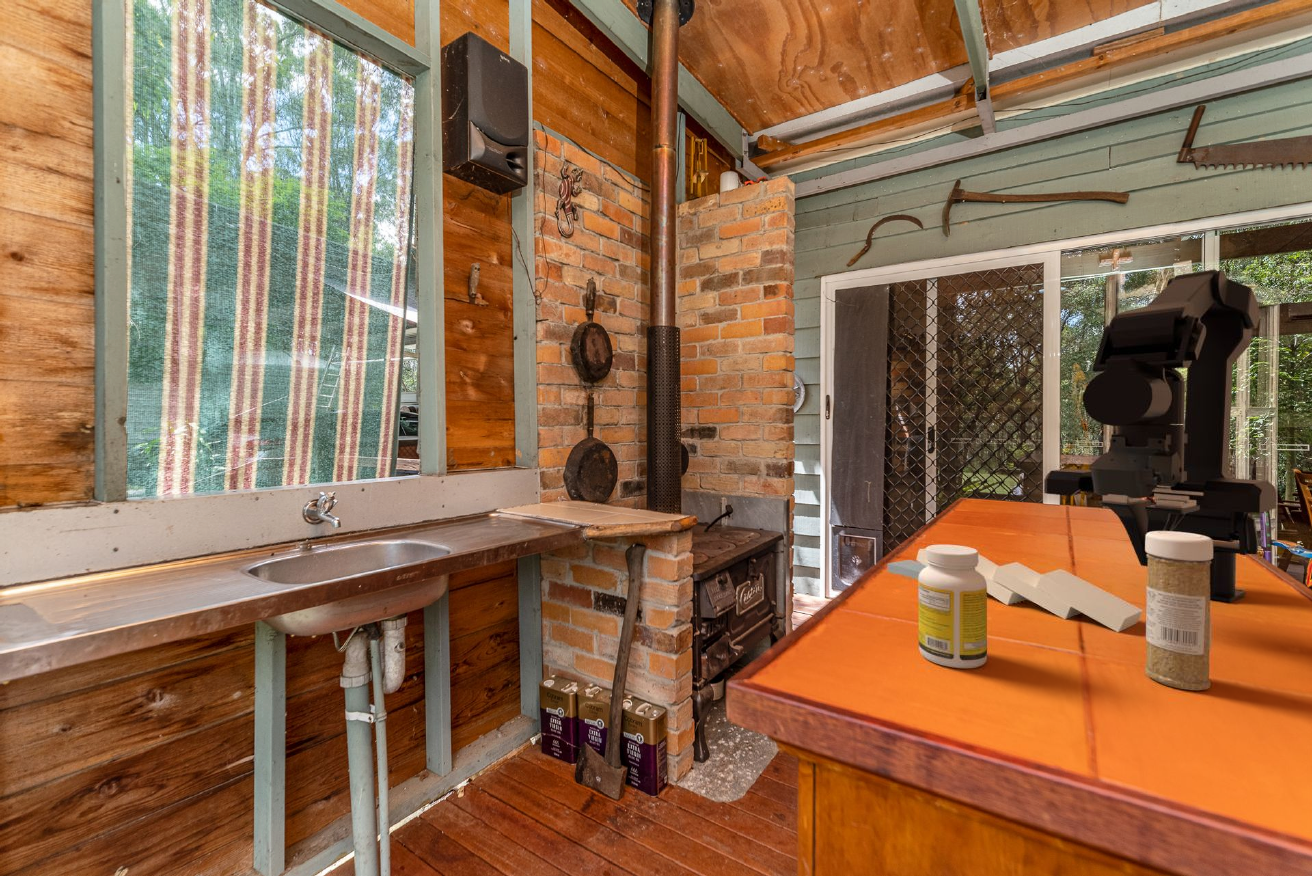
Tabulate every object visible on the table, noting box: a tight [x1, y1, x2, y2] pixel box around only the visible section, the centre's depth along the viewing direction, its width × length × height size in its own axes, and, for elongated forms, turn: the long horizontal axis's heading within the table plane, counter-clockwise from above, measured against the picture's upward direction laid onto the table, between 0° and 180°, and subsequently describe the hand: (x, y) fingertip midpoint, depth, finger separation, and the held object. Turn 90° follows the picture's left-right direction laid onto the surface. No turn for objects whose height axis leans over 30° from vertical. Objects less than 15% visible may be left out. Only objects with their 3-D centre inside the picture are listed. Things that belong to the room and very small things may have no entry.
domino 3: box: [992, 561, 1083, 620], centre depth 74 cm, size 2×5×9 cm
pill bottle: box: [917, 544, 988, 669], centre depth 59 cm, size 6×6×11 cm
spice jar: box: [1144, 531, 1214, 691], centre depth 53 cm, size 5×5×13 cm
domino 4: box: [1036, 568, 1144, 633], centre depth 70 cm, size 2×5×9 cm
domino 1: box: [886, 559, 926, 579], centre depth 88 cm, size 2×5×9 cm
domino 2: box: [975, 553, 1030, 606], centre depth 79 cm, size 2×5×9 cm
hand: (1147, 565), depth 64 cm, fingers closed
